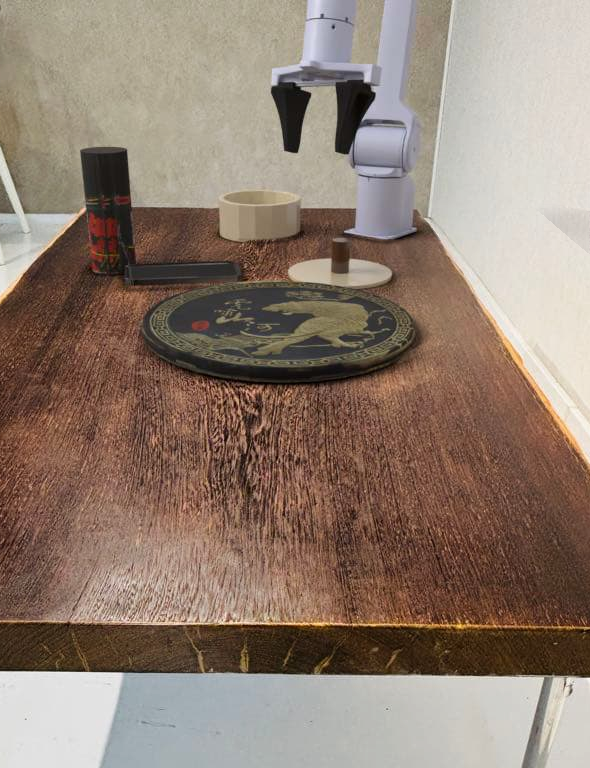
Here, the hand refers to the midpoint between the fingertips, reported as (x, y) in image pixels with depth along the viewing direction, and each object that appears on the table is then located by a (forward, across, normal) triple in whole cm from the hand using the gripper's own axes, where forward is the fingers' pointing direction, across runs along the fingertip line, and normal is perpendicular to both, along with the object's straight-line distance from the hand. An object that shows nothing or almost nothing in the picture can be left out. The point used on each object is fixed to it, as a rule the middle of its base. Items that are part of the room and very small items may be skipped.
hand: (315, 152), depth 104 cm
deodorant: (+16, -26, -8) cm, 32 cm away
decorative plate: (+20, +8, -15) cm, 26 cm away
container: (+10, -24, +20) cm, 32 cm away
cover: (+14, +1, +6) cm, 15 cm away
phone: (+17, -15, -6) cm, 23 cm away
